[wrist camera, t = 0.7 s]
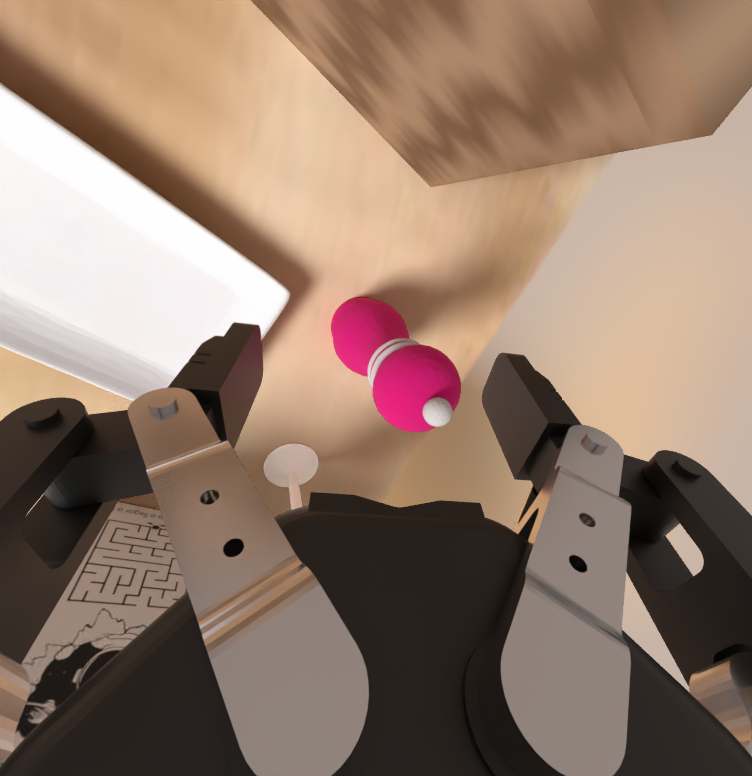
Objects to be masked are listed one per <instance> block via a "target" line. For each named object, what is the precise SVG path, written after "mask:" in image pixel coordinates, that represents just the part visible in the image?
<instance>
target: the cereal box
mask: <svg viewBox="0 0 752 776" xmlns="http://www.w3.org/2000/svg"><path fill="white" fill-rule="evenodd" d="M186 592H187V588H186V585H185V583H184V580H183V577H182V574H181V571H180V568H179V565H178V562H177V559H176V556H175V553H174V550H173V548H172V545H171V542H170V539H169V536H168V533H167V530H166V527H165V524H164V521H163V518H162V515H161V512H160V510H156V509H151V508H146V507H141V506H136V505H131V504H126V503H121V502H117V504H116V506H115V507H114V509H113V511H112V512H111V514H110V516H109V517H108V519H107V521H106V522H105V524H104V526H103V528H102V529H101V531H100V533H99V534H98V536H97V538H96V539H95V541H94V543H93V544H92V546H91V548H90V549H89V551H88V553H87V554H86V556H85V558H84V559H83V561H82V563H81V564H80V566H79V568H78V570H77V571H76V573H75V575H74V576H73V578H72V580H71V581H70V583H69V585H68V586H67V588H66V590H65V591H64V593H63V595H62V596H61V598H60V600H59V601H58V603H57V605H56V607H55V608H54V610H53V612H52V613H51V615H50V617H49V618H48V620H47V622H46V623H45V625H44V627H43V628H42V630H41V632H40V633H39V635H38V637H37V638H36V640H35V642H34V643H33V645H32V647H31V649H30V650H29V652H28V654H27V655H26V657H25V659H24V660H23V662H22V664H21V666H23V667H24V668H25V670H26V671H27V673H28V675H29V679H30V690H29V695H28V699H27V702H26V705H25V707H24V710H23V712H22V714H21V717H20V719H19V722H18V725H17V728H16V732H15V738H14V749H15V748H16V747H17V746H18V745H19V744H20V743H21V742H22V741H23V739H24V738H25V737H26V736H27V735H28V734H29V733H30V732H31V731H32V730H33V729H34V728H35V727H36V726H37V725H38V724H39V723H40V722H41V721H43V720H44V719H45V718H46V717H47V716H48V715H49V714H50V713H51V712H52V711H54V710H55V709H56V708H57V707H58V706H59V705H60V704H61V703H63V702H64V701H65V700H66V699H67V698H68V697H69V696H70V695H72V694H73V693H74V692H75V691H76V690H77V689H78V688H79V687H81V686H82V685H83V684H84V683H85V682H86V681H87V680H88V679H89V678H91V677H92V676H93V675H94V674H95V673H96V672H97V671H98V670H100V669H101V668H102V667H103V666H104V665H105V664H106V663H107V662H109V661H110V660H111V659H112V658H113V657H114V656H115V655H116V654H118V653H119V652H120V651H121V650H122V649H123V648H124V647H125V646H127V645H128V644H129V643H130V642H131V641H132V640H133V639H134V638H135V637H137V636H138V635H139V634H140V633H141V632H142V631H143V630H144V629H146V628H147V627H148V626H149V625H150V624H151V623H152V622H153V621H155V620H156V619H157V618H158V617H159V616H160V615H161V614H162V613H164V612H165V611H166V610H167V609H168V608H169V607H170V606H171V605H173V604H174V603H175V602H176V601H177V600H178V599H179V598H180V597H181V596H183V595H184V594H185V593H186Z"/></svg>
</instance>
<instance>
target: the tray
mask: <svg viewBox="0 0 752 776" xmlns="http://www.w3.org/2000/svg"><path fill="white" fill-rule="evenodd" d="M290 296H291V294H290V291H289V290H288V289H287V288H286V287H285V286H284V285H283V284H282V283H280V282H279V281H278V280H277V279H275V278H274V277H273V276H271V275H270V274H269V273H268V272H266V271H265V270H264V269H262V268H261V267H259V266H258V265H257V264H255V263H254V262H253V261H251V260H250V259H248V258H247V257H245V256H244V255H243V254H241V253H240V252H238V251H237V250H236V249H234V248H233V247H231V246H230V245H229V244H227V243H226V242H225V241H223V240H222V239H220V238H219V237H218V236H216V235H215V234H213V233H212V232H211V231H209V230H208V229H206V228H205V227H204V226H202V225H201V224H199V223H198V222H197V221H195V220H194V219H193V218H191V217H190V216H188V215H187V214H186V213H184V212H183V211H181V210H180V209H179V208H177V207H176V206H175V205H173V204H172V203H170V202H169V201H168V200H166V199H165V198H163V197H162V196H161V195H159V194H158V193H157V192H155V191H154V190H152V189H151V188H150V187H148V186H147V185H145V184H144V183H143V182H141V181H140V180H138V179H137V178H136V177H134V176H133V175H131V174H130V173H129V172H127V171H126V170H124V169H123V168H122V167H120V166H119V165H117V164H116V163H115V162H113V161H112V160H110V159H109V158H107V157H106V156H105V155H103V154H102V153H100V152H99V151H97V150H96V149H95V148H93V147H92V146H90V145H89V144H87V143H86V142H85V141H83V140H82V139H80V138H79V137H77V136H76V135H75V134H73V133H72V132H70V131H69V130H67V129H66V128H65V127H63V126H62V125H60V124H59V123H57V122H56V121H54V120H53V119H52V118H50V117H49V116H47V115H46V114H44V113H43V112H42V111H40V110H39V109H37V108H36V107H34V106H33V105H32V104H30V103H29V102H27V101H26V100H25V99H23V98H22V97H20V96H19V95H17V94H16V93H15V92H13V91H12V90H10V89H9V88H7V87H6V86H5V85H3V84H2V83H0V346H1V347H3V348H5V349H8V350H10V351H13V352H15V353H18V354H20V355H23V356H25V357H28V358H30V359H32V360H35V361H37V362H40V363H42V364H44V365H47V366H49V367H52V368H54V369H57V370H59V371H61V372H64V373H66V374H69V375H71V376H74V377H76V378H78V379H81V380H83V381H86V382H88V383H90V384H93V385H95V386H98V387H100V388H102V389H105V390H107V391H110V392H112V393H114V394H117V395H119V396H122V397H124V398H126V399H129V400H131V401H134V400H135V399H136V398H138V397H139V396H141V395H143V394H145V393H147V392H150V391H153V390H157V389H161V388H167V387H168V386H169V385H170V384H171V382H172V381H173V380H174V378H175V377H176V376H177V375H178V373H179V372H180V371H181V369H182V368H183V367H184V366H185V364H186V363H187V362H189V359H190V358H191V357H192V355H193V354H194V355H195V352H196V350H197V349H198V348H199V346H200V345H201V344H202V343H203V342H205V341H207V340H208V339H210V338H212V337H214V336H224V335H225V334H226V332H227V331H228V329H229V328H230V326H231V325H232V324H233V323H234V322H237V323H246V324H255V325H259V327H260V330H261V341H262V339H263V338H264V336H265V335H266V334H267V332H268V331H269V329H270V328H271V327H272V325H273V324H274V322H275V321H276V320H277V318H278V317H279V315H280V314H281V312H282V311H283V309H284V308H285V306H286V305H287V303H288V301H289V299H290Z"/></svg>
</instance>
